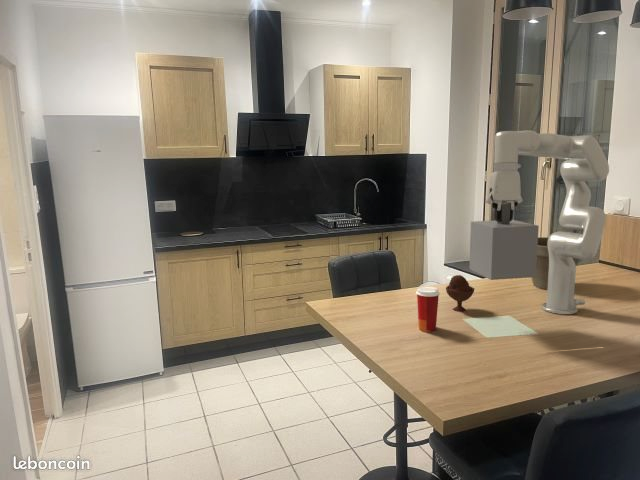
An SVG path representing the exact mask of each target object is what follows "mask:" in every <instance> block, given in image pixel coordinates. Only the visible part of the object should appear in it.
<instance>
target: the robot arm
mask: <svg viewBox="0 0 640 480" xmlns="http://www.w3.org/2000/svg"><path fill="white" fill-rule="evenodd" d="M494 137H495V138H494V154H493V155H494V159H493V172H491V173H490V176H489V181H488V189H487V197H486V200H485V203H486V204H488V205H489V206H491V207H492V208H493V210H494V221H498V222H501V221H502V210H501V203H503V202H506V203H508V204H510V221H512V220H513V211H514V210H515V207H516V206H518V205H519V204H521V203H523V200H524V199H523V197H522V195H521V193H522V191H521V190H522V189H521V187H522V186H521V177H520V176H521V175H520V172H519V169H521V167H522V165H521V164H520V163H519V162H518V161H519V156H528V157H529V156H530V157H536V158H537V157H538V158H552V159H560V160H565V161H563V162H562V163H561V165H560V169H559V171H560V176H561V178H562V180H563V182H564V184H565V189H566V195H565V199H564V202H563V205H562V209H561V211H560V214H559V219H558V221H559V222H558V223H559V225H560V227H562V228H563V229H565V230H566V229H567V230H573V231H581V232H582V233H577V232H569V231H556V232H555V231H554V232H553V233H551V234H550V235H549V238H548V242H547V246H548V252H549V273H548V289H547V290H546V292H547V293H546V302H544V303H542V305H541V307H542V309H543V310H544V311H546V312H549V313H553V314H556V315H574V314H577V313H578V307H577V306H584V305H586V301H585V300H584V299H577V298H575V290H576V289H575V287H576V278H577V277H576V276H577V265H575V262H574V260H573V258H577V259H579V260H584V261H589V260H591V259H593V258H594V257H595V256H596V255H597V253H598V249H599V246H600V244H601V240H602V237H603V233H604V230H605V226H606V223H607V221H606V220H607V218H606V213H605V211H604V210H603V209H602V208H600V207H596V206H590V205H589V204H590V203H591V202H590V201H591V198H592V192H591V190H590V188H589V186H588V185H587V183H586V182H592V183H593V182H602V181H603V180H605V179H607V177H608V176H609V174H610V165H609V162H608V160H607V158H606V155H605V154H604V151H603V149H602V146H601V145H600V144H599V142H598V140H597V139H596V138H595V137H594V136H592V135H587V134H586V135H574V136H573V135H571V136H570V135H562V134H557V133H551V132H549V133H547V132H546V133H538V132H536V131H534V130H530V129H529V130H526V129H525V130H517V131H516V130H503V131H498V132H496V134H495V136H494Z"/></svg>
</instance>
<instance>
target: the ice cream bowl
mask: <svg viewBox="0 0 640 480" xmlns="http://www.w3.org/2000/svg"><path fill="white" fill-rule="evenodd" d="M445 290H446V291H445V292H446V294H447V295H448V296H449V297H450V298H451V299H453V300H454V301H456V303H457V306H455V307H453V308H452V310H453V311H455V312H459V313H462V312H463V313H464V312H466V311H467V309H466V308H465V307H464V306H463V302H465V301H468V300H469V299H470V298H471V297H472V296H473V294H474V293H475V288H474V287H473V286H471V285H470V283H469V281H468V280H467V279H466V278H465V277H464V276H463V275H460V274H456V275H453V276H452V277H451V278H450V281H449V283H448V285H447V286H446V287H445Z"/></svg>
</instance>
